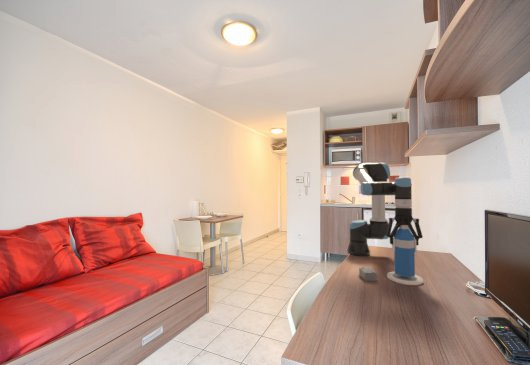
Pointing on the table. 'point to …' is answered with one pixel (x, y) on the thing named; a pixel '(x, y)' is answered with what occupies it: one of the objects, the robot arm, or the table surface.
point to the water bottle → (404, 252)
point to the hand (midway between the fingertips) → (404, 251)
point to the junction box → (368, 274)
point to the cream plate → (405, 279)
